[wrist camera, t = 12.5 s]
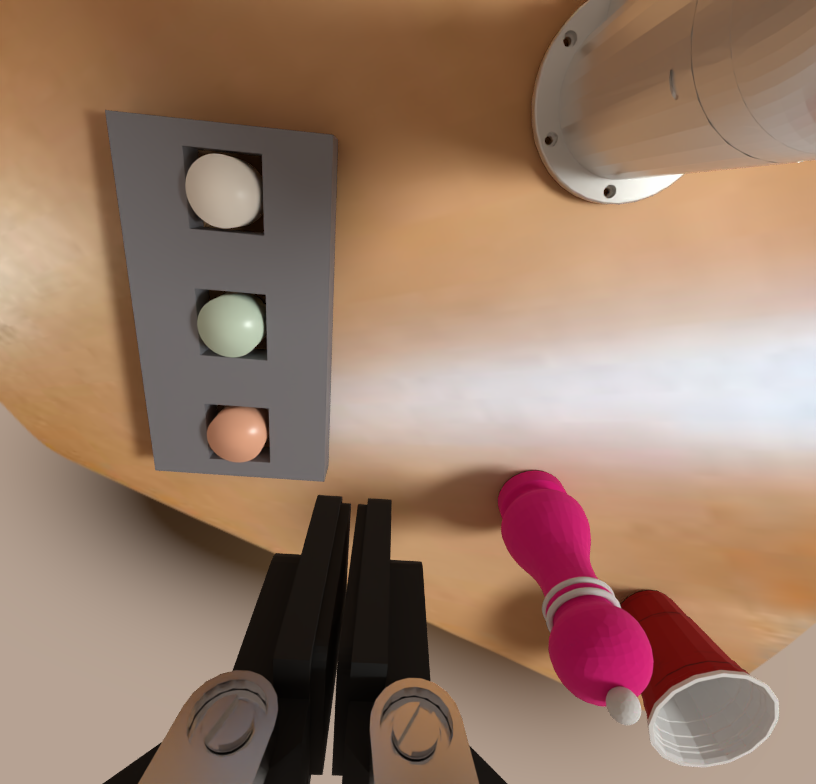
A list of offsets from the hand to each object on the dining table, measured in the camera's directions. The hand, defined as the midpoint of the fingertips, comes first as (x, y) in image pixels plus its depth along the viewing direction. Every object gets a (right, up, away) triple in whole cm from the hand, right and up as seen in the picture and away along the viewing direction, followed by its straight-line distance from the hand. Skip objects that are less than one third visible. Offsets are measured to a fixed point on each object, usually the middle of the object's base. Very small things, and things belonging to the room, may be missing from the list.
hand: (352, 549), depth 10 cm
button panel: (-12, +9, +25) cm, 29 cm away
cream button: (-11, +18, +22) cm, 30 cm away
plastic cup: (+27, -19, +38) cm, 50 cm away
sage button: (-12, +9, +25) cm, 29 cm away
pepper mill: (+13, -6, +33) cm, 35 cm away
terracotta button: (-13, +1, +28) cm, 31 cm away
